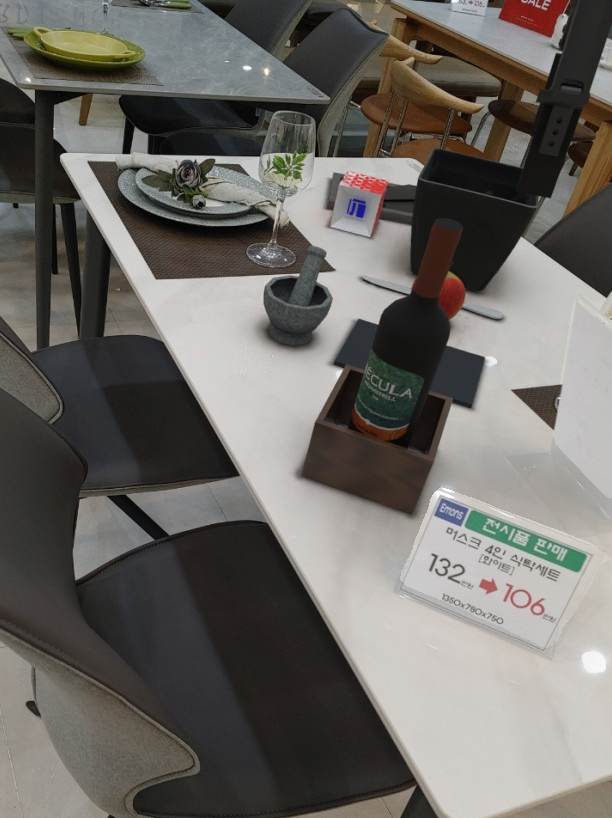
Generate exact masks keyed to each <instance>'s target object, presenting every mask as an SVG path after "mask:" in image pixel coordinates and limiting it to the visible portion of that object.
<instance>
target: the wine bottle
mask: <svg viewBox="0 0 612 818" xmlns="http://www.w3.org/2000/svg"><path fill="white" fill-rule="evenodd" d="M462 229H463V226H462V224H460V223H459V222H457V221H455V220H452V219H448V218H438V219H436V220H435V222H434V225H433V226H432V229H431V232H430V236H429V241H428V244H427V247H426V250H425V254H424V257H423V260H422V263H421V266H420V269H419V272H418V275H416V278H417V279H416V278H415V279H416V282H415V285H414V288H413V290H412V291H411V293H410V294H408V295H406V296H403V297H401V298H398V299H395V300H394V301H393V302H391V303H390V304H389V305H387V306H386V307H385V308H384V309H383V311H382V312H381V314H380V316H379V321H378V323H377V324H378V327H377V331H376V334H375V337H374V341H373V344H372V347H371V351H370V354H369V357H368V361H367V364H366V368H365V371H364V374H363V378H362V381H361V384H360V388H359V391H358V395H357V398H356V401H355V405H354V408H353V411H352V415H351V418H350V422H349V425H348V424H347V425H348V426H347V427H346V428H347V429H350V430H353V431H356V432H359V433H362V434H365V435H368V436H371V437H374V438H377V439H380V440H383V441H386V442H389V443H392V444H395V445H398V446H401V447H404V448H407V449H409V447H410V445H409V444H410V441H411V439H412V436H413V433H414V431H415V428H416V425H417V423H418V420H419V417H420V415H421V412H422V409H423V407H424V404H425V401H426V399H427V396H428V393H429V391H430V388H431V385H432V383H433V380H434V377H435V375H436V372H437V369H438V367H439V364H440V361H441V358H442V356H443V353H444V350H445V348H446V345H447V346H448V343H449V341H450V334H451V328H452V325H451V322H450V320H449V319H448V316H447V314H446V312H445V311H444V310H443V308H442V307H441V306H440V305H439V295H440V292H441V289H442V287H443V284H444V281H445V278H446V275H447V272H448V269H449V266H450V264H451V261H452V258H453V255H454V252H455V249H456V246H457V245H458V243H459V240H460V237H461V234H462V233H461V232H462Z"/></svg>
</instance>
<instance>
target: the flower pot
mask: <svg viewBox="0 0 612 818" xmlns="http://www.w3.org/2000/svg"><path fill="white" fill-rule="evenodd" d="M522 170H523V167H522V166H516V165H512V164H509V163H504V162H500V161H495V160H492V159H488V158H484V157H478V156H475V155H471V154H466V153H461V152H458V151H453V150H450V149H444V148H440V147H433V148H432V149H431V151H430V154H429V155H428V157H427V160H426V162H425V163H424V165H423V167H422V169H421V171H420V173H419V175H418V177H417V181H416V185H415V186H416V193H415V199H414V207H413V215H412V225H410V226H411V227H410V246H409V248H410V249H409V250H410V253H409V254H410V255H409V256H410V257H409V259H410V273H411V274H413V275H415V276H417V275H418V272H419V269H420V266H421V263H422V260H423V257H424V254H425V250H426V247H427V244H428V241H429V236H430V232H431V229H432V226H433V225H434V222H435V220H436V219H438V218H448V219H452V220H455V221H457V222H459V223H460V224H462V226H463V229H462V232H461V233H462V234H461V237H460V240H459V243H458V245H457V246H456V249H455V252H454V255H453V258H452V261H453V262H454V263H453V265H452V266H451V264H450V266H451V268H450V266H449V268H450V270H449V269H448V270H449V271H450V272H451V273H453V274H454V275H456V276H457V277H458V278H459V279H460V280H461V281H462V283H463V285H464V287H465V290H471V291H472V292H473V291H474V292H478V293H479V292H483V291H484V290H485V289H486V288H487V286H488V285H489V284H490V283H491V281H492V280H493V278H494V277H495V276H496V275H497V274H498V272H499V271H500V270H501V268H502V267H503V266H504V264H505V263H506V262H507V260H508V258H509V257H510V255H511V253H512V252H513V251H514V249H515V247H516V246H517V244H518V243H519V241H520V239H521V238H522V236H523V234H524V233H525V231H526V229H527V227H528V226H529V224H530V222H531V221H532V218H533V217H534V215H535V213H536V212H537V209H538V207H539V200H540V199H539V197H540V196H535V195H530V194H525V193H520V192H516V189H517V185H518V182H519V179H520V176H521V173H522ZM452 261H451V263H452Z"/></svg>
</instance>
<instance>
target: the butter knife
mask: <svg viewBox="0 0 612 818" xmlns="http://www.w3.org/2000/svg"><path fill="white" fill-rule="evenodd" d="M362 278H363V279H364V280H366V281H368V282H370V283H372V284H374V285H378V286H381V287H383V288H387V289H390V290H393V291H397V292H400V293H403V294H407V295H410V293H411V289H412V287H408V286H404V285H401V284H397V283H392V282H389V281H386V280H383V279H382V280H381V279H378V278H374V277H370V276H366V275H362ZM461 309H463V310H464V309H465V310H468V311H470V312H473V313H476V314H478V315H481V316H484V317H486V318H489V319H494V320H500V319H502V318H503V317H504V314H503V313H502V312H501V311H499V310H498V309H494V308H491V307H486V306H482V305H477V304H473V303H468V302H464V303H463V306H462V308H461Z"/></svg>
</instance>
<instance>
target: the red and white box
mask: <svg viewBox="0 0 612 818" xmlns="http://www.w3.org/2000/svg"><path fill="white" fill-rule="evenodd" d="M388 183H389V180H386V179H382V178H378V177H374V176H370V175H367V174H363V173H358V172H354V171H351V170H347V172H345V176H344V178H343V179H342V181H341V183H340V184H339V187H338V191H337V196H336V200H335V206H334V210H332V213H331V220H330V224H329V228H331V229H332V228H333V229H337V230H340V231H345V232H349V233H351V234H352V233H353V234H356V235H359V236H364V237H367V238H371V237H372V235H373V233H374V231H375V229H376V227H377V225H378V222H379V220H380V219H379V215H380V211H381V208H382V204H383V200H384V196H385V193H386V189H387V185H388Z"/></svg>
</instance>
